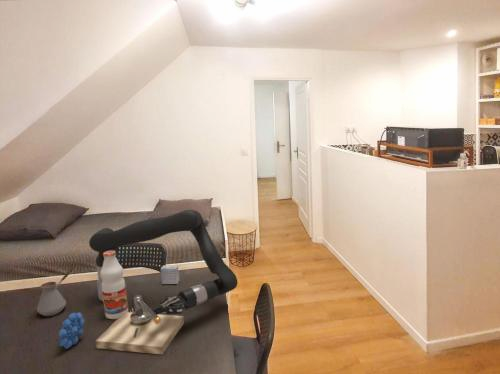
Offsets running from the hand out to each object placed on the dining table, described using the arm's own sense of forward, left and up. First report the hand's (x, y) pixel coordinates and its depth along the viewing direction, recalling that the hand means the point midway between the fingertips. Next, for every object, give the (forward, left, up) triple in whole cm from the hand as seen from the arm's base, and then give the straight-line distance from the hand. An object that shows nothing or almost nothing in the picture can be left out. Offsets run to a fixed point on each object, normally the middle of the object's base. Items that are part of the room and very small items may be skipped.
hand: (152, 312), depth 133 cm
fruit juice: (-25, +15, -11) cm, 31 cm away
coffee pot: (-55, +18, -11) cm, 59 cm away
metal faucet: (-3, +2, -8) cm, 9 cm away
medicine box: (-14, +46, -11) cm, 49 cm away
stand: (-6, +2, -11) cm, 13 cm away
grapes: (-30, -7, -11) cm, 33 cm away
